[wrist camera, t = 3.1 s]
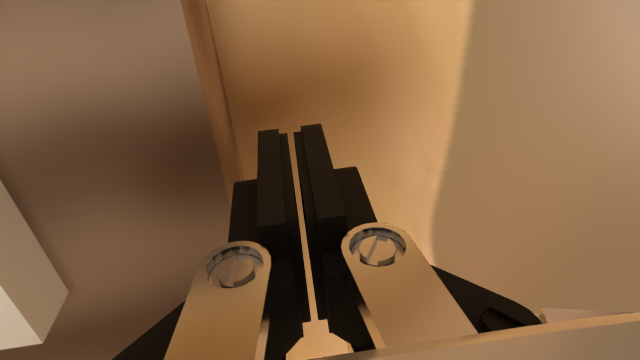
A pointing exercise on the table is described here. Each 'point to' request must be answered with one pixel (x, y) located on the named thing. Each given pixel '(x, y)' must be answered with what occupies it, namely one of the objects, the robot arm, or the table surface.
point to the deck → (115, 159)
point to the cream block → (25, 281)
